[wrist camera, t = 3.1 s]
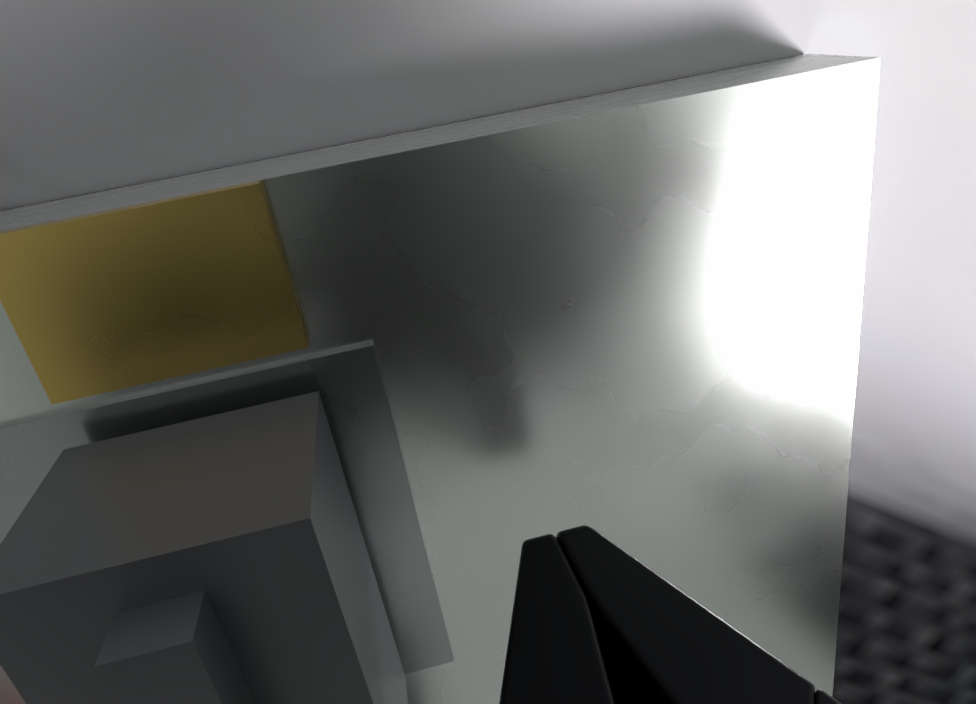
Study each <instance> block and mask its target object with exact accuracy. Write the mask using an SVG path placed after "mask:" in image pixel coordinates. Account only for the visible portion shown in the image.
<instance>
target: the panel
mask: <svg viewBox="0 0 976 704" xmlns="http://www.w3.org/2000/svg"><path fill="white" fill-rule="evenodd" d="M880 60H881V57H862V56H842V55H822V54H805V55H800V56H794V57H789V58H784V59H779V60H774V61H769V62H764V63H759V64H753V65H748V66H743V67H738V68H733V69H728V70H723V71H717V72H712V73H707V74H702V75H697V76H692V77H687V78H682V79H676V80H671V81H666V82H661V83H656V84H651V85H646V86H641V87H635V88H630V89H625V90H620V91H615V92H610V93H605V94H599V95H594V96H589V97H584V98H579V99H574V100H569V101H564V102H558V103H553V104H548V105H543V106H538V107H533V108H528V109H523V110H517V111H512V112H507V113H502V114H497V115H492V116H487V117H481V118H476V119H471V120H466V121H461V122H456V123H451V124H446V125H440V126H435V127H430V128H425V129H420V130H415V131H410V132H405V133H399V134H394V135H389V136H384V137H379V138H374V139H369V140H363V141H358V142H353V143H348V144H343V145H338V146H333V147H328V148H322V149H317V150H312V151H307V152H302V153H297V154H292V155H287V156H281V157H276V158H271V159H266V160H261V161H256V162H251V163H245V164H240V165H235V166H230V167H225V168H220V169H215V170H210V171H204V172H199V173H194V174H189V175H184V176H179V177H174V178H169V179H163V180H158V181H153V182H148V183H143V184H138V185H133V186H127V187H122V188H117V189H112V190H107V191H102V192H97V193H92V194H86V195H81V196H76V197H71V198H66V199H61V200H56V201H51V202H45V203H40V204H35V205H30V206H25V207H20V208H15V209H9V210H4V211H0V544H1V543H2V541H3V540H4V538H5V537H6V535H7V534H8V532H9V531H10V529H11V528H12V526H13V525H14V523H15V522H16V520H17V519H18V517H19V516H20V514H21V513H22V511H23V510H24V508H25V507H26V505H27V504H28V502H29V501H30V499H31V498H32V496H33V495H34V493H35V492H36V490H37V489H38V487H39V486H40V484H41V483H42V481H43V480H44V478H45V477H46V475H47V474H48V472H49V471H50V469H51V468H52V466H53V465H54V463H55V462H56V460H57V459H58V457H59V456H60V454H61V453H62V451H63V450H64V449H67V448H72V447H76V446H81V445H85V444H89V443H94V442H98V441H102V440H107V439H111V438H116V437H120V436H124V435H129V434H133V433H137V432H142V431H146V430H151V429H155V428H159V427H164V426H168V425H172V424H177V423H181V422H186V421H190V420H194V419H199V418H203V417H207V416H212V415H216V414H221V413H225V412H229V411H234V410H238V409H242V408H247V407H251V406H256V405H260V404H264V403H269V402H273V401H278V400H282V399H286V398H291V397H295V396H299V395H304V394H308V393H313V392H317V391H319V394H320V397H321V400H322V404H323V407H324V410H325V413H326V417H327V420H328V423H329V427H330V430H331V433H332V436H333V440H334V443H335V446H336V450H337V453H338V456H339V459H340V463H341V466H342V469H343V473H344V476H345V479H346V483H347V486H348V489H349V492H350V496H351V499H352V502H353V506H354V509H355V512H356V515H357V519H358V522H359V525H360V529H361V532H362V535H363V539H364V542H365V545H366V548H367V552H368V555H369V558H370V562H371V565H372V568H373V571H374V575H375V578H376V581H377V585H378V588H379V591H380V595H381V598H382V601H383V604H384V608H385V611H386V614H387V618H388V621H389V624H390V627H391V631H392V634H393V637H394V641H395V644H396V647H397V650H398V654H399V657H400V660H401V664H402V667H403V670H404V674H405V679H406V689H407V699H408V704H499V702H500V695H501V688H502V681H503V674H504V667H505V660H506V653H507V646H508V639H509V632H510V625H511V618H512V611H513V604H514V597H515V590H516V583H517V576H518V569H519V562H520V555H521V548H522V544H523V542H524V541H525V540H527V539H531V538H535V537H539V536H543V535H547V534H553V535H554V536H555V537H556V536H557V534H558V532H560V531H562V530H566V529H570V528H574V527H578V526H582V525H587V526H590V527H592V528H593V529H594V530H596V531H597V532H599V533H600V534H602V535H603V536H604V537H606V538H607V539H609V540H610V541H611V542H613V543H614V544H616V545H617V546H619V547H620V548H621V549H623V550H624V551H626V552H627V553H628V554H630V555H631V556H633V557H634V558H636V559H637V560H638V561H640V562H641V563H643V564H644V565H645V566H647V567H648V568H650V569H651V570H653V571H654V572H655V573H657V574H658V575H660V576H661V577H662V578H664V579H665V580H667V581H668V582H670V583H671V584H672V585H674V586H675V587H677V588H678V589H679V590H681V591H682V592H684V593H685V594H687V595H688V596H689V597H691V598H692V599H694V600H695V601H696V602H698V603H699V604H701V605H702V606H704V607H705V608H706V609H708V610H709V611H711V612H712V613H714V614H715V615H716V616H718V617H719V618H721V619H722V620H723V621H725V622H726V623H728V624H729V625H731V626H732V627H733V628H735V629H736V630H738V631H739V632H740V633H742V634H743V635H745V636H746V637H748V638H749V639H750V640H752V641H753V642H755V643H756V644H757V645H759V646H760V647H762V648H763V649H765V650H766V651H767V652H769V653H770V654H772V655H773V656H774V657H776V658H777V659H779V660H780V661H782V662H783V663H784V664H786V665H787V666H789V667H790V668H791V669H793V670H794V671H796V672H797V673H799V674H800V675H801V676H803V677H804V678H806V679H807V680H808V681H810V682H811V683H813V684H814V686H815V692H816V690H818V689H821V690H823V691H825V692H826V693H827V694H829V695H830V696H832V695H833V682H834V669H835V655H836V642H837V629H838V616H839V603H840V589H841V576H842V563H843V550H844V536H845V523H846V510H847V497H848V484H849V470H850V457H851V444H852V431H853V417H854V404H855V391H856V378H857V365H858V351H859V338H860V325H861V312H862V298H863V285H864V272H865V259H866V246H867V232H868V219H869V206H870V193H871V179H872V166H873V153H874V140H875V127H876V113H877V100H878V87H879V74H880ZM0 704H26V703H25V701H24V700H23V698H22V697H21V695H20V694H19V692H18V691H17V689H16V688H15V686H14V685H13V683H12V681H11V680H10V678H9V677H8V675H7V674H6V672H5V671H4V669H3V668H2V666H1V665H0Z"/></svg>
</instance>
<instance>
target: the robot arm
mask: <svg viewBox="0 0 976 704" xmlns="http://www.w3.org/2000/svg"><path fill="white" fill-rule="evenodd" d="M499 704H842V703H840V702H839V701H837V700H836V699H834V698H833V697H832V696H830V695H829V694H827V693H826V692H825V691H823V690H821V689H818V690H816V692H815V686H814V684H813V683H811V682H810V681H808V680H807V679H806V678H804V677H803V676H801V675H800V674H799V673H797V672H796V671H794V670H793V669H791V668H790V667H789V666H787V665H786V664H784V663H783V662H782V661H780V660H779V659H777V658H776V657H774V656H773V655H772V654H770V653H769V652H767V651H766V650H765V649H763V648H762V647H760V646H759V645H757V644H756V643H755V642H753V641H752V640H750V639H749V638H748V637H746V636H745V635H743V634H742V633H740V632H739V631H738V630H736V629H735V628H733V627H732V626H731V625H729V624H728V623H726V622H725V621H723V620H722V619H721V618H719V617H718V616H716V615H715V614H714V613H712V612H711V611H709V610H708V609H706V608H705V607H704V606H702V605H701V604H699V603H698V602H696V601H695V600H694V599H692V598H691V597H689V596H688V595H687V594H685V593H684V592H682V591H681V590H679V589H678V588H677V587H675V586H674V585H672V584H671V583H670V582H668V581H667V580H665V579H664V578H662V577H661V576H660V575H658V574H657V573H655V572H654V571H653V570H651V569H650V568H648V567H647V566H645V565H644V564H643V563H641V562H640V561H638V560H637V559H636V558H634V557H633V556H631V555H630V554H628V553H627V552H626V551H624V550H623V549H621V548H620V547H619V546H617V545H616V544H614V543H613V542H611V541H610V540H609V539H607V538H606V537H604V536H603V535H602V534H600V533H599V532H597V531H596V530H594V529H593V528H592V527H590V526H587V525H582V526H578V527H574V528H570V529H566V530H562V531H560V532H558V534H557V536H556V537H555V536H554V535H553V534H547V535H543V536H539V537H535V538H531V539H527V540H525V541H524V542H523V544H522V548H521V555H520V562H519V569H518V576H517V583H516V590H515V597H514V604H513V611H512V618H511V625H510V632H509V639H508V646H507V653H506V660H505V667H504V674H503V681H502V688H501V695H500V702H499Z"/></svg>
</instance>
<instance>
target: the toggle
mask: <svg viewBox="0 0 976 704" xmlns="http://www.w3.org/2000/svg"><path fill="white" fill-rule="evenodd" d="M0 665H1V666H2V668H3V669H4V671H5V672H6V674H7V675H8V677H9V678H10V680H11V681H12V683H13V685H14V686H15V688H16V689H17V691H18V692H19V694H20V695H21V697H22V698H23V700H24V701H25V703H26V704H408V699H407V689H406V679H405V674H404V670H403V667H402V664H401V660H400V657H399V654H398V650H397V647H396V644H395V641H394V637H393V634H392V631H391V627H390V624H389V621H388V618H387V614H386V611H385V608H384V604H383V601H382V598H381V595H380V591H379V588H378V585H377V581H376V578H375V575H374V571H373V568H372V565H371V562H370V558H369V555H368V552H367V548H366V545H365V542H364V539H363V535H362V532H361V529H360V525H359V522H358V519H357V515H356V512H355V509H354V506H353V502H352V499H351V496H350V492H349V489H348V486H347V483H346V479H345V476H344V473H343V469H342V466H341V463H340V459H339V456H338V453H337V450H336V446H335V443H334V440H333V436H332V433H331V430H330V427H329V423H328V420H327V417H326V413H325V410H324V407H323V404H322V400H321V397H320V394H319V391H317V392H313V393H308V394H304V395H299V396H295V397H291V398H286V399H282V400H278V401H273V402H269V403H264V404H260V405H256V406H251V407H247V408H242V409H238V410H234V411H229V412H225V413H221V414H216V415H212V416H207V417H203V418H199V419H194V420H190V421H186V422H181V423H177V424H172V425H168V426H164V427H159V428H155V429H151V430H146V431H142V432H137V433H133V434H129V435H124V436H120V437H116V438H111V439H107V440H102V441H98V442H94V443H89V444H85V445H81V446H76V447H72V448H67V449H64V450H63V451H62V453H61V454H60V456H59V457H58V459H57V460H56V462H55V463H54V465H53V466H52V468H51V469H50V471H49V472H48V474H47V475H46V477H45V478H44V480H43V481H42V483H41V484H40V486H39V487H38V489H37V490H36V492H35V493H34V495H33V496H32V498H31V499H30V501H29V502H28V504H27V505H26V507H25V508H24V510H23V511H22V513H21V514H20V516H19V517H18V519H17V520H16V522H15V523H14V525H13V526H12V528H11V529H10V531H9V532H8V534H7V535H6V537H5V538H4V540H3V541H2V543H1V544H0Z"/></svg>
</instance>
